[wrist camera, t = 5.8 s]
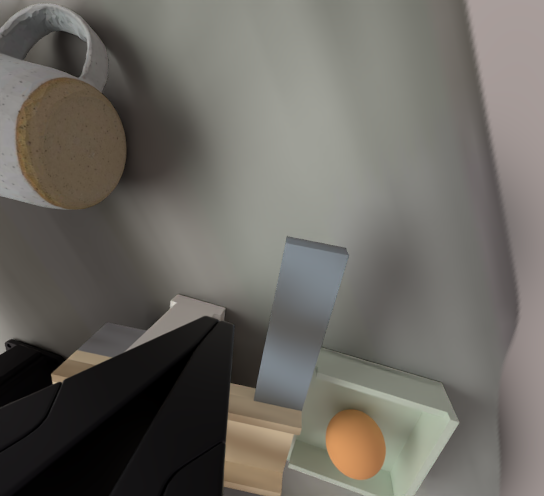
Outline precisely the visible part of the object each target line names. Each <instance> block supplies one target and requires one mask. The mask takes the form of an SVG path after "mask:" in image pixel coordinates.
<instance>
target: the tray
mask: <svg viewBox="0 0 544 496" xmlns="http://www.w3.org/2000/svg"><path fill="white" fill-rule="evenodd" d="M347 409H355V410H359V411H362V412H364V413H365V414H367V415H368V416H370V417H371V418H372V419H373V420H374V421H375V422H376V423H377V425H378V426H379V428H380V430H381V432H382V434H383V437H384V440H385V446H386V455H385V460H384V464H383V466H382V468H381V469H380V471H379V472H378V473H377V474H376V475H375V476H373V477H371V478H369V479H365V480H356V479H352V478H350V477H348V476H346V475H344V474H343V473H341V472H340V471H339V470H338V469H337V468H336V466H335V465H334V464H333V462H332V460H331V459H330V457H329V454H328V451H327V447H326V430H327V427H328V424H329V422H330V420H331V419H332V418H333V417H334V416H335V415H336V414H337V413H338V412H340V411H343V410H347ZM458 424H459V420H458V418H457V416H456V414H455V412H454V409H453V407H452V405H451V403H450V400H449V398H448V396H447V394H446V391H445V389H444V387H443V385H442V383H441V382H438V381H434V380H431V379H427V378H424V377H421V376H417V375H414V374H410V373H407V372H404V371H400V370H397V369H393V368H390V367H387V366H383V365H380V364H376V363H373V362H370V361H366V360H363V359H359V358H356V357H353V356H349V355H346V354H342V353H339V352H336V351H332V350H329V349H325V348H322V347H321V349H320V353H319V356H318V359H317V362H316V366H315V369H314V372H313V376H312V379H311V382H310V385H309V389H308V392H307V395H306V399H305V402H304V405H303V409H302V429H301V433H300V436H299V435H295V434H294V437H293V440H292V443H291V447H290V450H289V453H288V457H287V460H288V461H289V465H288V468H291V469H294V470H296V471H299V472H302V473H305V474H307V475H310V476H313V477H316V478H318V479H321V480H324V481H327V482H329V483H332V484H335V485H338V486H340V487H343V488H346V489H349V490H351V491H354V492H357V493H359V494H362V495H365V496H414V495H415V493H416V491H417V490H418V488H419V487H420V485H421V483H422V482H423V480H424V479H425V477H426V475H427V474H428V472H429V471H430V469H431V467H432V466H433V464H434V463H435V461H436V459H437V458H438V456H439V454H440V453H441V451H442V450H443V448H444V446H445V445H446V443H447V442H448V440H449V438H450V437H451V435H452V434H453V432H454V430H455V429H456V427H457V426H458Z"/></svg>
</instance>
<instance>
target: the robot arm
mask: <svg viewBox="0 0 544 496" xmlns="http://www.w3.org/2000/svg"><path fill="white" fill-rule="evenodd" d="M234 328H235V326H234V324H232V323H229V322H226V321H219V320H218V319H216V318H213V317H210V316H203V317H201V318H198V319H196V320H194V321H192V322H189V323H187V324H185V325H183V326H181V327H178V328H176V329H174V330H172V331H170V332H167V333H165V334H163V335H161V336H159V337H156V338H154V339H152V340H150V341H148V342H145V343H143V344H141V345H139V346H137V347H134V348H132V349H130V350H128V351H126V352H123V353H121V354H119V355H117V356H115V357H112V358H110V359H108V360H106V361H104V362H101V363H99V364H97V365H95V366H93V367H90V368H88V369H86V370H84V371H82V372H79V373H77V374H75V375H73V376H71V377H68V378H66V379H64V380H63V382H57V383H55V384H53V382H52V376H51V374H52V373H53V372H54V371H55V370H56V369H57V368H58V367H59V366H60V365H61V364H62V363H63V362H64V361H63V359H62V357H60V356H59V355H56V354H53V353H50V352H47V351H44V350H41V349H38V348H36V347H33V346H30V345H27V344H24V343H21V342H18V341H15V340H12V339H10V340H8V341H7V342H5V346H6V352H4V353H3V354H1V355H0V496H223V490H224V466H225V452H226V436H227V423H228V409H229V396H230V382H231V369H232V355H233V342H234Z"/></svg>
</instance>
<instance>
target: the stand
mask: <svg viewBox="0 0 544 496" xmlns="http://www.w3.org/2000/svg"><path fill="white" fill-rule="evenodd" d="M225 310H226V308H224V307H221V306H217V305H214V304H210V303H207V302H203V301H200V300H196V299H193V298H189V297H186V296H182V295H179V294H177V295H176V296H175V297H174V298H173V299H172V300H171V304H170V309H169V310H168V311H167V312H166V313H165V314H164V315H163V316H162V317H161V318H160V319H159V320H158V321H157V322H156V323H155V324H153V325H152V326H151V327H150V328H149V329H148V330H147V331H146V332H145V333H144V334H143V335H142V336H141V337H140V338H139V339H138V340H137V341H136V342H134V343H133V344H132V345H131V346H130V347H129V348H128V349H127V350H126V351H128V350H130V349H132V348H134V347H137V346H139V345H141V344H143V343H145V342H148V341H150V340H152V339H154V338H156V337H159V336H161V335H163V334H165V333H167V332H170V331H172V330H174V329H176V328H178V327H181V326H183V325H185V324H187V323H189V322H192V321H194V320H196V319H198V318H201V317H203V316H210V317H213V318H216V319H218V320H219V321H224V318H225ZM126 351H125V352H126Z"/></svg>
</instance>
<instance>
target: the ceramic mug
mask: <svg viewBox="0 0 544 496" xmlns="http://www.w3.org/2000/svg"><path fill="white" fill-rule="evenodd" d="M60 30H61V31H65V32H68V33H71V34H74V35H77V36H79V38H80V39H82V40H83V41H84V42H87V47H88V49H87V53H86V61H85V64H84V66H83V70H82V74H81V76H80V77H79V78H77V77H74V76H72V75H70V74H68V73H66V72H63V71H60V70H57V69H54V68H51V67H47V66H43V65H39V64H35V63H31V62H27V61H23V60H24V58H25V57H26V55H27V53H28V52H29V50H30V49H31V48H32V47H33V46H34V45H35V44H36V43H37V42H38V41H39V40H40V39H41V38H42V37H44V36H46V35H48V34H49V33H51V32H53V31H60ZM108 61H109V59H108V54H107V51H106V48H105V45H104V44H103V42H102V41H101V39H100V37H99V36H98V35H97V34H96V33H95V32H94V31H93V30H92V28H91V27H90V26H89V25H88V24H87V23H86V22H85V20H84V19H83V18H82V17H81V16H79V15H78V14H76V13H75V12H74V11H72V10H70V9H68V8H66V7H63V6H60V5H57V4H52V3H40V4H34V5H31V6H28V7H26V8H24V9H22V10H20V11H19V12H17V13H16V14H15V15H13V16H12V17H11V18H10V19H9V20H8V21H7V22H6V23H5V24H4V25H3V26H2V27H1V28H0V196H2V197H7V198H11V199H15V200H19V201H23V202H26V203H30V204H34V205H38V206H43V207H49V208H54V209H66V210H74V209H85V208H88V207H91V206H94V205H96V204H98V203H100V202H101V201H102V200H103V199H105V198H106V197H107V196H108V195H109V194H110V193H111V192H112V191H113V190H114V189H115V187H116V186H117V184H118V182H119V180H120V178H121V176H122V174H123V171H124V167H125V161H126V153H127V148H126V137H125V132H124V129H123V125H122V122H121V120H120V118H119V115H118V113H117V111H116V110H115V108H114V107H113V105H112V104H111V102H110V101H109V100H108V99H107V98H106V97H105V96H104V95H103V94H102V92H103V88H104V87H105V84H106V82H107V79H108V67H109V65H108Z"/></svg>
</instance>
